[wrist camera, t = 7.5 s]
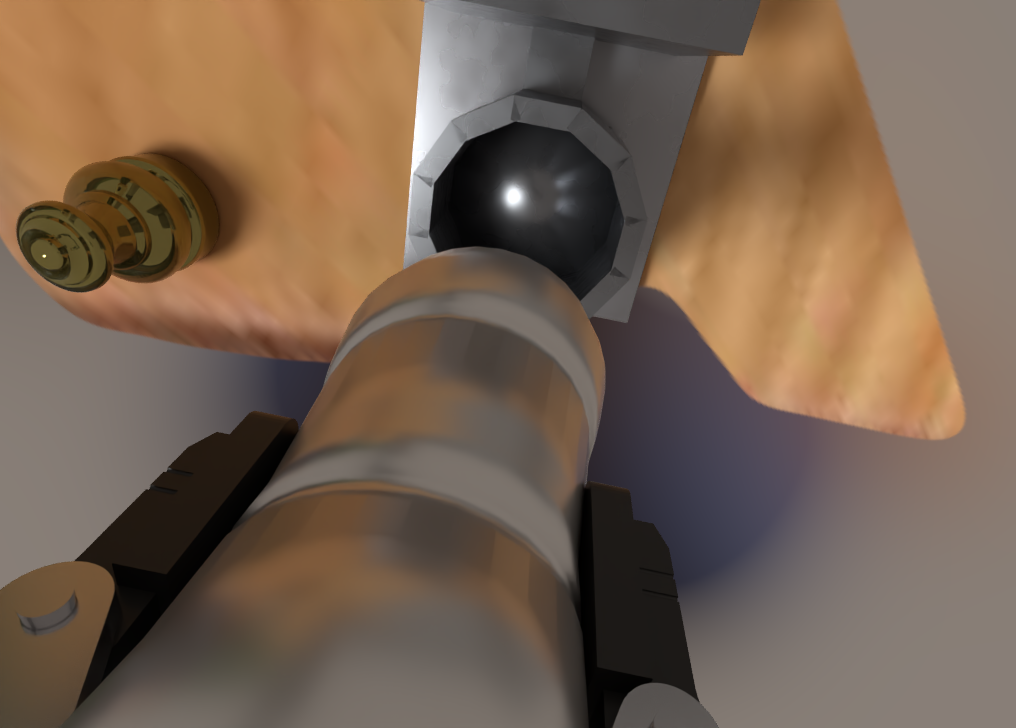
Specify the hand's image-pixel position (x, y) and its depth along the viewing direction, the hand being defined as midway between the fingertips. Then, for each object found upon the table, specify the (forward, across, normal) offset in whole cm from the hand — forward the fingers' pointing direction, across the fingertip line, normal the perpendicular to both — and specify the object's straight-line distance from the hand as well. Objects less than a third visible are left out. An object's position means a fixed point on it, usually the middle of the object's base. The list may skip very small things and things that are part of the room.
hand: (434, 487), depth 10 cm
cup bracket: (+27, 0, -2) cm, 28 cm away
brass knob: (+28, +24, +6) cm, 37 cm away
